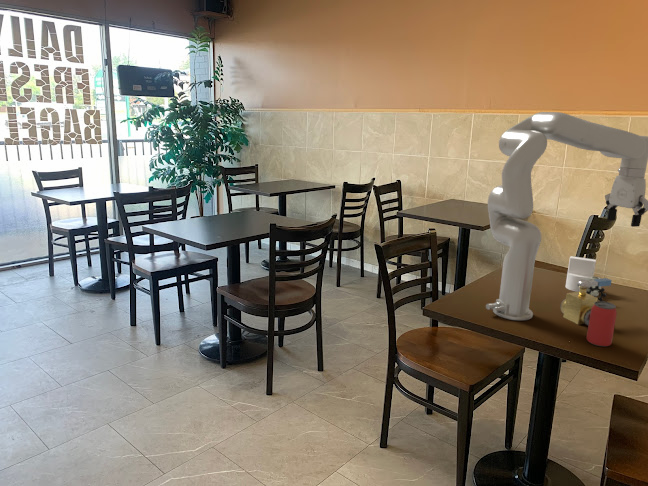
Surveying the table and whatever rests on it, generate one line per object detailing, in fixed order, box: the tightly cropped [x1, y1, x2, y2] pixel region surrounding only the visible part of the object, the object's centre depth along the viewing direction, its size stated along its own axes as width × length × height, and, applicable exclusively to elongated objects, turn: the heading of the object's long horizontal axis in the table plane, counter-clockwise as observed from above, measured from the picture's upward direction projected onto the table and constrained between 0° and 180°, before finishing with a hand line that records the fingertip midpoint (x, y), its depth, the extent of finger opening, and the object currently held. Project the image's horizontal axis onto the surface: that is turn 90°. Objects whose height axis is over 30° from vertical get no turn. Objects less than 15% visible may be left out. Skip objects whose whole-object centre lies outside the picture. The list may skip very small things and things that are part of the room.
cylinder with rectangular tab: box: [565, 255, 597, 292], centre depth 195 cm, size 9×9×12 cm
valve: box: [586, 276, 607, 301], centre depth 187 cm, size 7×7×12 cm
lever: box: [577, 277, 613, 288], centre depth 165 cm, size 12×4×2 cm, turn 108°
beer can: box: [586, 300, 617, 347], centre depth 148 cm, size 7×7×12 cm
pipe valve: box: [560, 287, 599, 326], centre depth 165 cm, size 12×6×11 cm, turn 18°
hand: (622, 223), depth 174 cm, fingers open, 9 cm apart
